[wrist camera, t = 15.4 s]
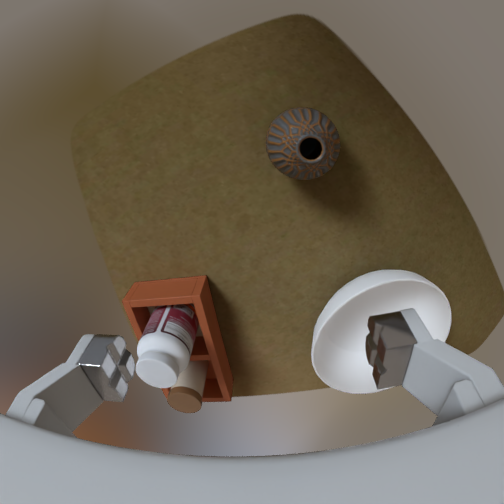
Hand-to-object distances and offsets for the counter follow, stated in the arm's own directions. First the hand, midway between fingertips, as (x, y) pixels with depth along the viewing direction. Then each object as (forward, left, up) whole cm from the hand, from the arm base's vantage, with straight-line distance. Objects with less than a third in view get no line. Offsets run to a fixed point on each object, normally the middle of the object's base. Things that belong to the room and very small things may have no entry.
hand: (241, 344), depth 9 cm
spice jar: (+11, -25, -25) cm, 37 cm away
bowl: (+23, -2, -26) cm, 34 cm away
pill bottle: (+4, -20, -25) cm, 32 cm away
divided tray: (+8, -23, -25) cm, 35 cm away
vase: (0, +6, -26) cm, 26 cm away
